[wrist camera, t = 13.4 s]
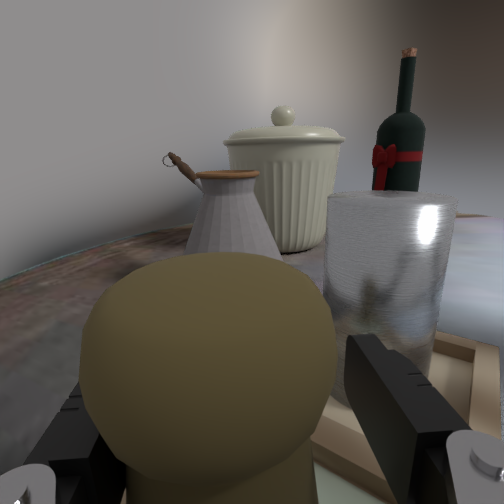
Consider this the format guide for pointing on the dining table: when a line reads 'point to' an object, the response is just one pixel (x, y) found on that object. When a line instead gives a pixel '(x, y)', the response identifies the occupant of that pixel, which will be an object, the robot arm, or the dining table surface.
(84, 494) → the robot arm
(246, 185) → the coffee pot
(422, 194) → the clear glass tumbler
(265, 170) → the canister
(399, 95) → the wine bottle
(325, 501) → the wooden tray
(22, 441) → the dining table surface
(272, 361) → the olive brown pepper mill
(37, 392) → the dining table surface
